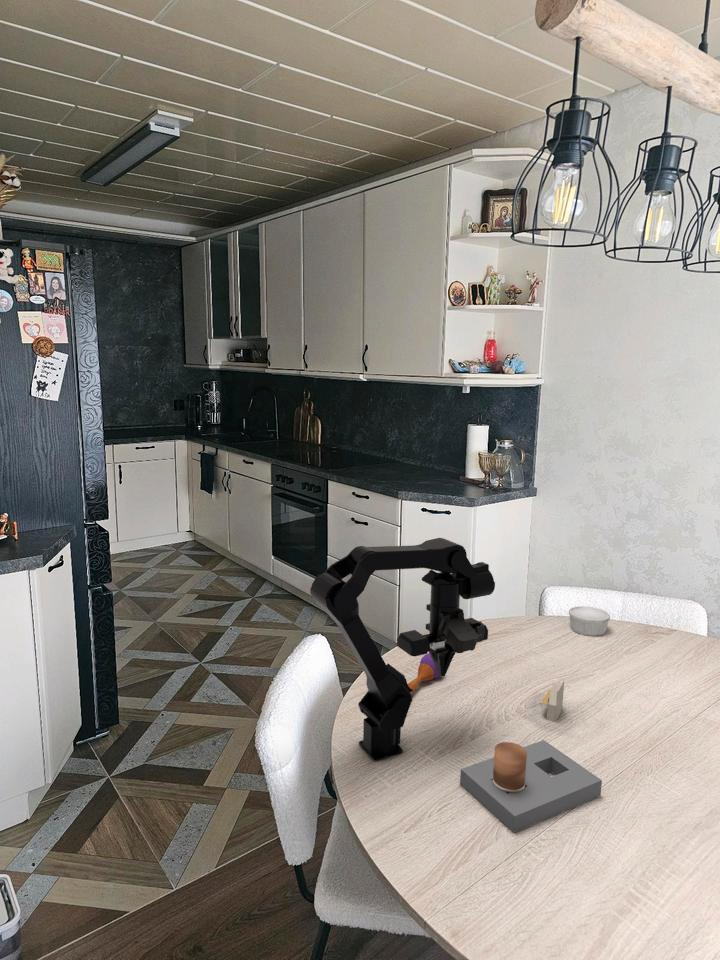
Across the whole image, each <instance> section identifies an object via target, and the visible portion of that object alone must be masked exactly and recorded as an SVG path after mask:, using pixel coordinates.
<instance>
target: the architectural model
mask: <svg viewBox="0 0 720 960" xmlns="http://www.w3.org/2000/svg"><path fill="white" fill-rule="evenodd" d="M564 689H565V679H562V682H561V683H560V682H555V681H553V682H552V686H551V689H548V690H547V692H546V694H545V695H544V697H543V698H542V700H541V701H540V705H541V706H545V707H547V714H546V720H549V721H552V722H557V720H558V718H559V716H560V714H561V712H562V710H563V703H564Z"/></svg>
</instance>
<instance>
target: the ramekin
mask: <svg viewBox="0 0 720 960" xmlns="http://www.w3.org/2000/svg"><path fill="white" fill-rule="evenodd" d="M568 615H569V624H570V628H571V629H572V630H573V631H574V632H575V633H578V634H579V635H583V634H584V635H583V636H588V635H590V637H598V636H597V635H599V636H602V635H604V634H605V633H606V632H607V629H608V626H609V621H610V619H611V616H610V613H609V612H607V611H606V610H604V609H602V608H597V607H594V606H587V605H586V606H585V605H583V606H580V605H578V606H572V607H570V608H569V609H568Z"/></svg>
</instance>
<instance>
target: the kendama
mask: <svg viewBox="0 0 720 960" xmlns="http://www.w3.org/2000/svg"><path fill="white" fill-rule="evenodd" d="M422 656H423V657H421V658H420V660H419V661H420V663H419V666H418V668H417V677H416V678H415V679H413V680H411V681H410V682H409V683H407V684H408V686H409V687H410V688H411V689H412V690H413V691H412V692H410V693H411V695H412V694H413V693H414V691H415V690H416V688H418V686H419V684H420V683H421V682H422V681H423V682H424V681H431V680H433V679H438V678H439V677H440V676H439V675H438V672H437V670H436V667H435V665H434V662H433V660H432V657H431V655H430V653H429V652H427V654H424V655H422ZM440 678H441V677H440Z"/></svg>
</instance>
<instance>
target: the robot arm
mask: <svg viewBox="0 0 720 960" xmlns="http://www.w3.org/2000/svg"><path fill="white" fill-rule="evenodd" d="M467 555H468V554H467V550H466V549H465V547H464V546H463V545H461V544H459V543H456V542H455V541H454V542H453V541H451V540H449V539H447V538H444V537H437V538H432V539H427V540H425V541H424V542H422V543H419V544H416V545H390V546H389V545H386V546H385V545H384V546H364V545H359V546H355V547H354V548H352V549H351V551H350V552H349V553H348V554H347V555H345V556H343V557H342V558H341V559H339V560H337V561H336V562H335V561H334V562H333V563H332V564H331V565H329V567H327V568H326V569H325V571H323V573H321V574H319V575H318V576H317V577H315V579H314V580H313V582H312V583H311V587H310V589H309V591H310V595H311V597H312V599H313V600H314V602H316V603H317V605H318V606H320V607H319V608H321V609H322V610H323V611H324V612H325V613H326V614H327V615H328V616H329V617H330V618H331V620H333V621H334V622H335V623H336V625H337V627H338V629H339V630H340V632H341V634H342V636H343V638H344V639H345V641H346V642H347V645H348V646H349V648H350V650H351V652H352V653H353V655H354V657H355V659H356V660H357V661H358V664H359V665H360V667H361V668H362V670H363V672H364V674H365V676H366V688H367V692H366V693H365V694H364V696H363V697H362V698H361V699H360V700H359V702H358V704H357V706H358V708H359V711H360V713H362V714H363V715H364V716H365V717H366V718H364V719H363V730H362V731H363V733H362V734H363V736H362V737H363V738H362V739H363V740H360V741H359V742H358V745H359V747H360V748H361V749H362V750H364V752H365V753H366V754H367V755H368V756H369V757H370V758H371V759H372V760H373V761H379V760H383V759H386V758H389V757H392V756H396V755H399V754H401V753H403V752H404V749H403V747H401V746H400V745H401V734H402V729H401V728H403V727H404V725H405V722H406V719H407V715H408V712H409V710H410V708H411V705H412V702H413V696H412V694H411V693H410V692H412V691H413V690H412V689H411V688H410V687H409V686H408V684H409V683H408V681H407V679H406V676H405V675H404V674H403V673H401V672H400V671H399V670H397V669H396V668H395V667H394V666H392V665H391V664H390V663H387V664H386V662H385V660H384V658H383V657H382V655H381V653H380V651H379V649H378V647H377V646H376V644H375V642H374V641H373V639H372V636H371V635H370V633H369V631H368V630H367V628H366V626H365V624H364V623H363V620H362V619H361V616H360V606H359V602H358V597H359V596H360V595H361V594H362V593H363V592H364V590H365V588H366V586H367V584H368V581H369V579H370V577H371V575H373V574H374V573H375V572H376V571H391V570H392V571H393V570H395V571H396V570H412V569H427V570H429V571H428V572H427V573H426V574H425V575H423V576H422V577H421V581H422V582H424V583H426V584H428V585H430V603H429V604H428V603H427V604H426V608H425V609H426V611H428V612H429V622H428V623H425V630H427V631H429V632H428V633H426V634H422V633H420V632H419V631H417V630H416V629H413V630H412V629H411V630H409V631H404V632H400V633H399V634H398V635H397V638H396V646H397V647H398V648H399V649H400V650H402V651H404V653H406V654H408V655H409V656H410V657H420V656H425V655H426V654H428V653H430V655H431V657H432V660H433V662H434V665H435V667H436V670H437V672H438V675H439V676H440V678H444V677H446V675H447V672H448V670H449V667H450V666H451V663H452V660H453V659H454V657H455V655H456V654H463V653H465V652H468V651H470V652H472V651H474V650H475V649H476V646H477V643H481V642H483V641H486V640H488V638H489V629H488V626H487V625H486V624H484V623H483V622H482V621H481V620H480V621H478V620H477V619H475V618H473V617H468V618H465V613H464V609H462V608H460V600H461V599H460V597H461V598H462V599H464V600H470V599H476V598H481V597H486V596H491V595H492V594H493V593H494V591H495V588H496V582H495V580H494V575H493V574H492V572H491V571H490V565H489V563H485V562H483V561H480V562H477V563H474V564H472V563H471V561H470V560H469V559H468V556H467ZM349 575H351V576H350V577H349V579H348V580H347V581H345V580H343V579H344V578H346V577H347V576H349Z"/></svg>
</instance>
